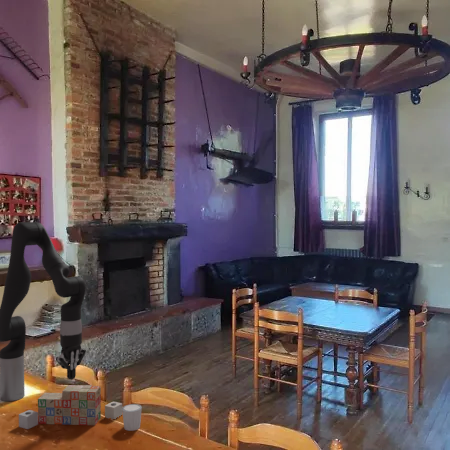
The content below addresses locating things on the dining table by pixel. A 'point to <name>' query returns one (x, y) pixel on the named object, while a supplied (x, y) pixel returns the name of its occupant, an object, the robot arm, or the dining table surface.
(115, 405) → the ivory marked cube
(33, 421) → the grey marked cube
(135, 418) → the shot glass
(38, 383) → the dining table surface
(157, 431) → the dining table surface
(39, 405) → the stack of blocks
